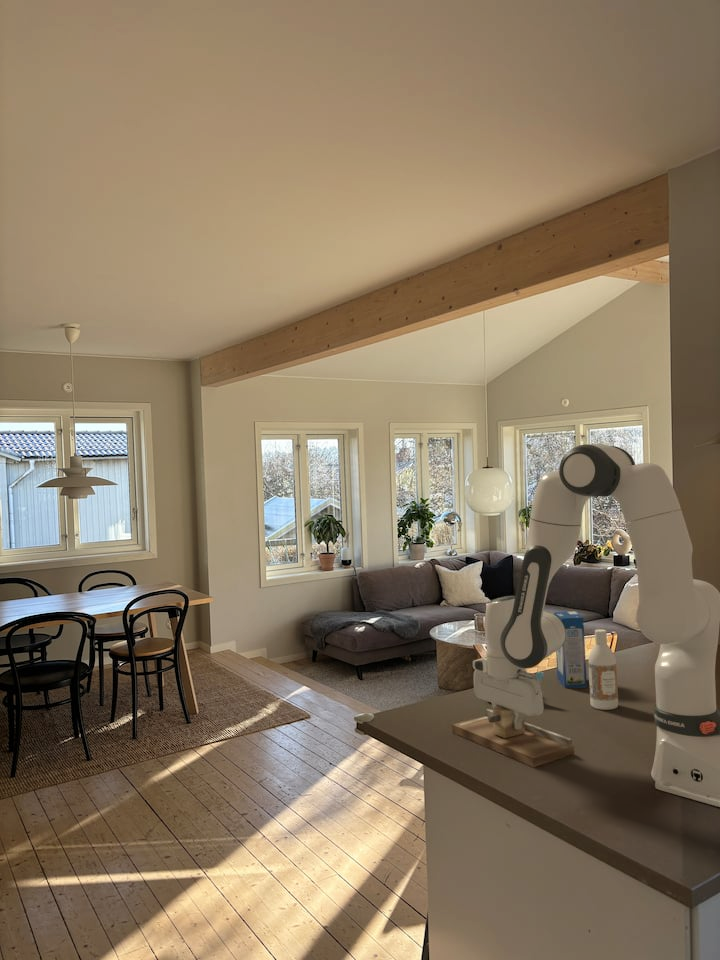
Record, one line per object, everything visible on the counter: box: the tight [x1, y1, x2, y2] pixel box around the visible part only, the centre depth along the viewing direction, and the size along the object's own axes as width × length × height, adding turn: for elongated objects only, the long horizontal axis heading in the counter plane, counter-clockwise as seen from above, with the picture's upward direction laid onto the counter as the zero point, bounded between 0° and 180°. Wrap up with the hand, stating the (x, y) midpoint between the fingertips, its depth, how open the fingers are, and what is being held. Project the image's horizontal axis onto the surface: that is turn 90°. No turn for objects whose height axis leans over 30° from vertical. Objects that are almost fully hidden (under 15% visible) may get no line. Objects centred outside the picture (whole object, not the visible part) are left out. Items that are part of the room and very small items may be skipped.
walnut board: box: [451, 708, 575, 768], centre depth 176 cm, size 28×12×4 cm, turn 31°
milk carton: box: [553, 610, 588, 689], centre depth 223 cm, size 10×6×20 cm, turn 178°
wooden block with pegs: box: [488, 706, 525, 738], centre depth 176 cm, size 4×11×6 cm, turn 121°
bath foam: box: [587, 628, 619, 711], centre depth 200 cm, size 7×7×20 cm
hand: (508, 725), depth 176 cm, fingers closed on wooden block with pegs, 4 cm apart
